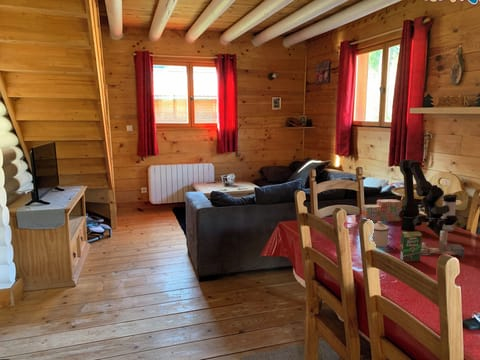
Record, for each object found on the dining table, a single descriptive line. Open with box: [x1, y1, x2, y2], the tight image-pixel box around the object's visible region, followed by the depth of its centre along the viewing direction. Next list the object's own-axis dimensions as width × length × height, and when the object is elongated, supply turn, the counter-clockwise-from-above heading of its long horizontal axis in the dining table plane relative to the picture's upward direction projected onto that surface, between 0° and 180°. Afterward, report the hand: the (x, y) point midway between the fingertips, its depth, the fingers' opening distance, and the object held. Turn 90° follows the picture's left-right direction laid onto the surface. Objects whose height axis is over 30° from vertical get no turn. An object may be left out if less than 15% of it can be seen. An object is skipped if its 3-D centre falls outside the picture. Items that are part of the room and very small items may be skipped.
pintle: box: [420, 241, 432, 256], centre depth 170 cm, size 6×6×5 cm
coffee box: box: [399, 231, 423, 263], centre depth 161 cm, size 8×3×13 cm, turn 90°
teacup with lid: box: [372, 221, 390, 248], centre depth 182 cm, size 12×9×12 cm
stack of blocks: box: [361, 198, 402, 223], centre depth 221 cm, size 21×6×12 cm, turn 94°
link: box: [421, 230, 457, 256], centre depth 168 cm, size 16×5×10 cm, turn 74°
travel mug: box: [441, 194, 458, 233], centre depth 200 cm, size 6×7×20 cm
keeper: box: [447, 243, 466, 259], centre depth 167 cm, size 5×6×4 cm
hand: (440, 236), depth 169 cm, fingers closed
